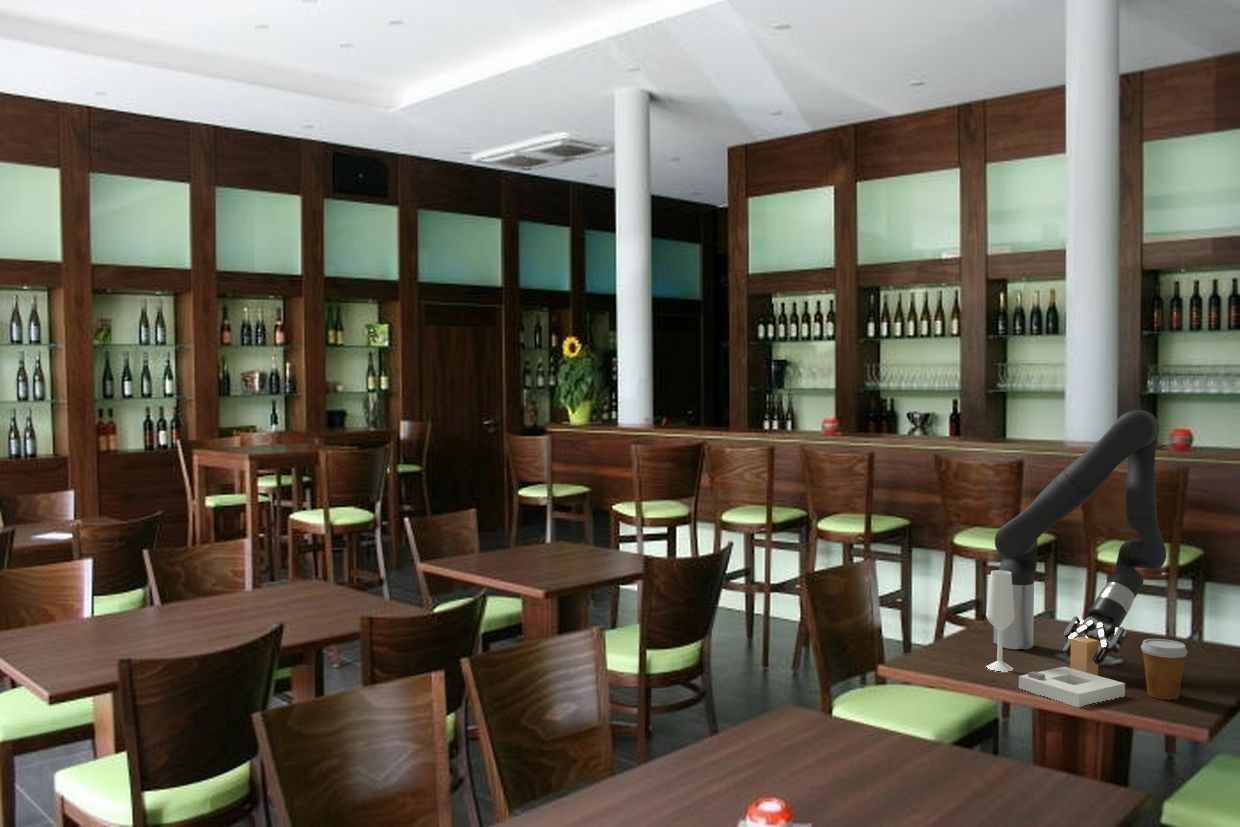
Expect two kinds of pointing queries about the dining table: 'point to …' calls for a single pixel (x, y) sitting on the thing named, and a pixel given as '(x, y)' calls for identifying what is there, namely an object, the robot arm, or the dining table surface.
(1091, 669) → the light brown rectangular block
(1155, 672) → the disposable coffee cup
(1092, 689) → the socket plate
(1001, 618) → the champagne flute
